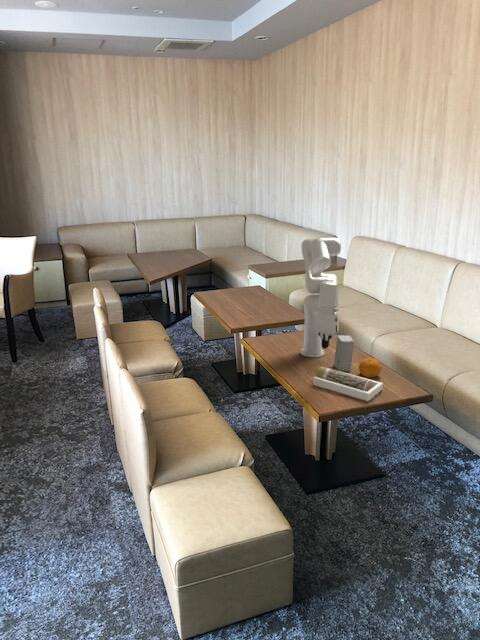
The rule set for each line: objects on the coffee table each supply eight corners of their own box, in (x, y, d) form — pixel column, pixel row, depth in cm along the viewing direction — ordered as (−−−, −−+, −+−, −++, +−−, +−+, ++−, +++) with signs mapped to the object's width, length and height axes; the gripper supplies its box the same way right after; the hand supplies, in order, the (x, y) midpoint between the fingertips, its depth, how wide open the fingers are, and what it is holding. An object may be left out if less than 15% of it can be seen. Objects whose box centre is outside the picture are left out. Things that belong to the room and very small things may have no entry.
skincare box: (333, 365, 262) (335, 335, 257) (347, 364, 263) (349, 334, 258) (337, 371, 254) (339, 340, 249) (352, 371, 255) (354, 340, 250)
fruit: (354, 376, 249) (355, 360, 247) (363, 369, 257) (365, 354, 255) (375, 381, 243) (376, 365, 241) (384, 374, 251) (385, 358, 249)
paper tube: (324, 372, 247) (373, 386, 232) (317, 383, 244) (366, 398, 229) (320, 363, 243) (370, 377, 228) (313, 374, 240) (363, 389, 225)
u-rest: (328, 375, 250) (328, 368, 249) (382, 390, 234) (382, 383, 233) (313, 384, 240) (313, 377, 239) (368, 401, 224) (369, 393, 223)
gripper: (346, 310, 232) (343, 349, 238) (316, 304, 241) (314, 341, 247) (338, 314, 227) (335, 354, 232) (308, 307, 236) (306, 346, 241)
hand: (325, 347), depth 240 cm, fingers closed
